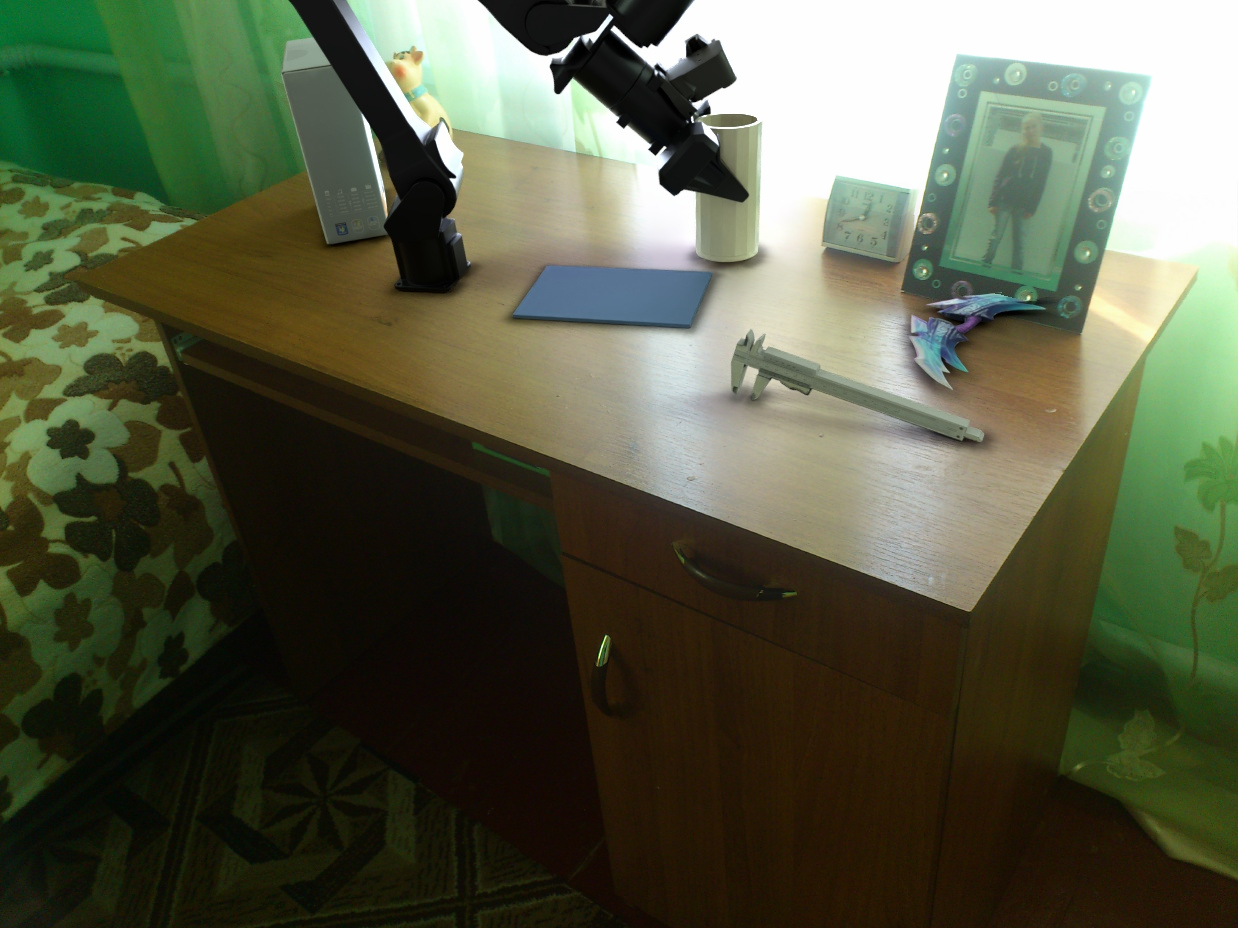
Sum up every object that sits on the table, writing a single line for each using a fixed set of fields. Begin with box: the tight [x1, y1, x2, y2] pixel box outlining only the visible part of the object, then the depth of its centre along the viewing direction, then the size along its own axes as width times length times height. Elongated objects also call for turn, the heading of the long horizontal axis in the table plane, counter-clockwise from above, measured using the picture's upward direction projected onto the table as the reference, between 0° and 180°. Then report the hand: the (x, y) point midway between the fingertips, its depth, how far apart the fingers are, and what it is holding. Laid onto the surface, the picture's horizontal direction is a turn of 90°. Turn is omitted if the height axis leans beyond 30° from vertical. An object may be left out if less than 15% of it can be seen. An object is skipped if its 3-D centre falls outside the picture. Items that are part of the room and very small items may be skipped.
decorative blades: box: [908, 292, 1047, 391], centre depth 88 cm, size 20×1×10 cm
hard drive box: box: [280, 36, 389, 245], centre depth 116 cm, size 16×8×20 cm, turn 14°
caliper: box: [730, 328, 985, 443], centre depth 77 cm, size 20×1×6 cm, turn 63°
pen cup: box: [694, 111, 763, 263], centre depth 100 cm, size 7×7×14 cm
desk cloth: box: [512, 264, 713, 329], centre depth 99 cm, size 18×11×1 cm, turn 75°
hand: (742, 185), depth 100 cm, fingers closed on pen cup, 7 cm apart
